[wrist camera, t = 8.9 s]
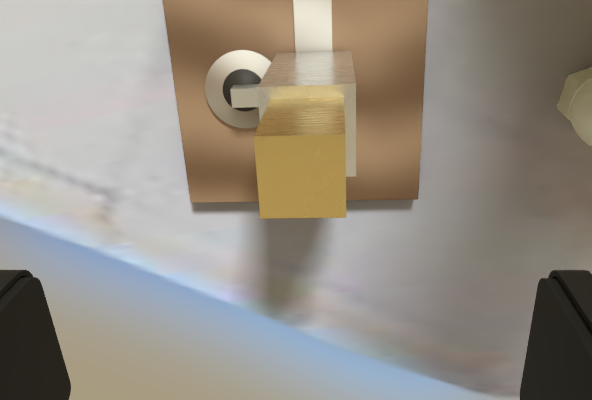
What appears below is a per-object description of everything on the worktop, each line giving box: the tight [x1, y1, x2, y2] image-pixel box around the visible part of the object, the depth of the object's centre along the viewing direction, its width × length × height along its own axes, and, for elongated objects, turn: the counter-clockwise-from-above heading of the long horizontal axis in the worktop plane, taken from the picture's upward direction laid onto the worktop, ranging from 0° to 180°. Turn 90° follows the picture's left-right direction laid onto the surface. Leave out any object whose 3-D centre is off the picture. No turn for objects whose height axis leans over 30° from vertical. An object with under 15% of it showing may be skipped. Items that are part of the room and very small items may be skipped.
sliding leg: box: [230, 51, 356, 219], centre depth 24 cm, size 4×6×13 cm, turn 93°
